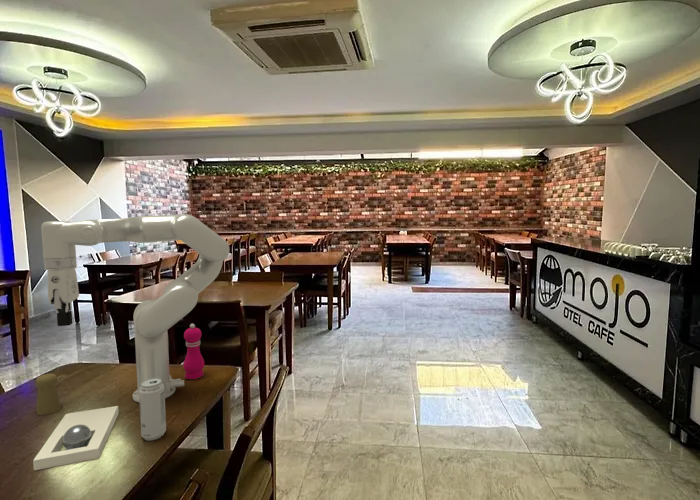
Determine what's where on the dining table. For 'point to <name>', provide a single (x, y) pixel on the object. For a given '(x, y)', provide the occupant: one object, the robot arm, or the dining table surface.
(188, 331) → the pepper mill
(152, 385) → the energy drink can
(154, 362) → the robot arm
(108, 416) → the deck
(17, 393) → the dining table surface
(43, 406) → the cork
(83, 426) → the ball
